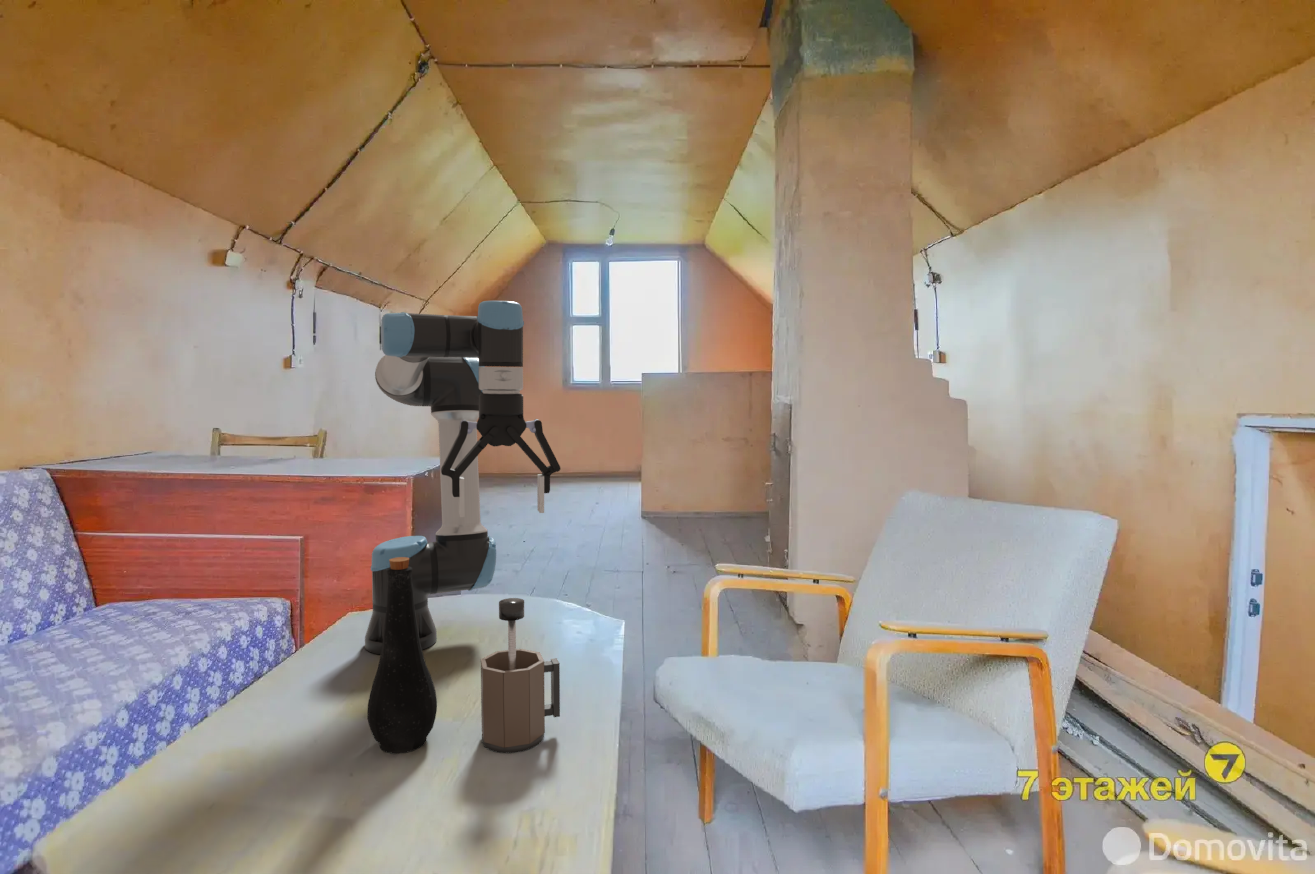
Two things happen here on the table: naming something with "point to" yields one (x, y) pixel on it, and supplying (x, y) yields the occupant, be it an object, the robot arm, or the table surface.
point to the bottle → (401, 672)
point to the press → (516, 700)
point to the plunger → (511, 624)
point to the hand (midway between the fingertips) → (502, 513)
